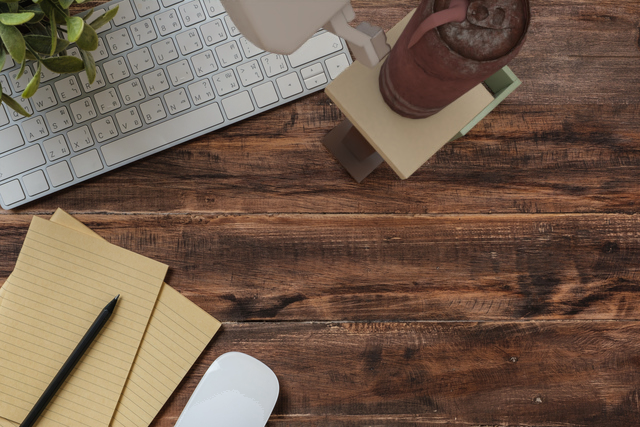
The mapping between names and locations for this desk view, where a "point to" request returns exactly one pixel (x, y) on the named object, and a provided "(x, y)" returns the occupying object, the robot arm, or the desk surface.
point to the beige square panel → (389, 127)
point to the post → (352, 150)
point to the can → (450, 52)
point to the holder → (501, 86)
